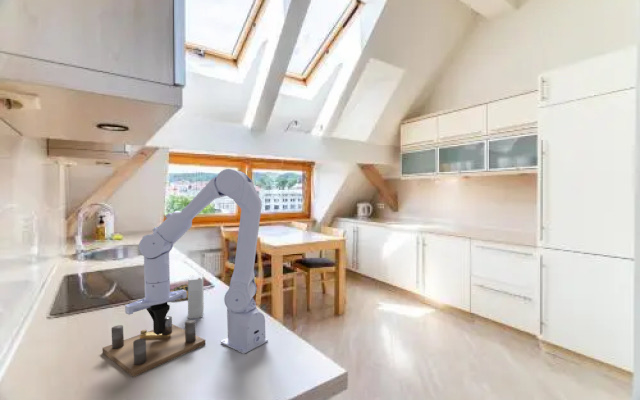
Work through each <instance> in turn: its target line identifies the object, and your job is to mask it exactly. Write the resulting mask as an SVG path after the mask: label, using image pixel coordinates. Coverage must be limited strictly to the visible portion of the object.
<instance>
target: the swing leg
mask: <svg viewBox="0 0 640 400" xmlns="http://www.w3.org/2000/svg"><path fill="white" fill-rule="evenodd" d="M172 324H173V317H172V316H169V315H168V316H167V315H166V317H165V319H164V322H163V333H162V334H159V335H157V334H155V333H154V332H148V331H147V333H145V334H141V333H140V334H141V335H140V334H139V335H140V339H141V338H144V339H146V338H168V337H169V336H170V335H171V333H172Z"/></svg>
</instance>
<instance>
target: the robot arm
mask: <svg viewBox="0 0 640 400" xmlns="http://www.w3.org/2000/svg"><path fill="white" fill-rule="evenodd" d="M223 197H228V198H230V199H231V200H233V201H234V203H235V204H236V205H237V206H238V207H239V208H240V219H239V224H238V225H239V227H238V233H237V235H238V236H237V243H236V249H235V250H236V251H235V259H234V266H233V268H234V269H233V273H232V275H231V278H230V281H229V282H230V283H229V287H228V290H227V291H226V292H225V295H224V297H223V301H224V305H225V306H226V317H227V322H226V323H227V337H226V338H224V339H222V340H220V344H223V345H224V346H226V347H229V348H231V349H233V350H235V351H237V352H239V353H242V354H246V353H249V352H250V351H252V350H254V349H256V348H258V347H259V346H261V345H263V344H265V343H267V342H268V341H269V339H268V338H266V318H265V315H264V314H263V313H262V312H261V311H259V309H258V307H257V303H256V301H255V299H254V296H255V295H256V293H257V284H256V281H255V276H256V275H255V261H256V255H257V254H256V253H257V247H258V239H259V230H260V229H259V228H260V221H261V214H262V206H263V204H262V203H263V202H262V200H261V197H260V196H259V193H258V191H257V189H256V187H255V185H254V181H253V179H251V178H250V177H249V176H248V174H246V173H245V172H244V171H240V170H235V169H233V168H226V169H223V170H221V171H220V172H218V174H217V176H214V177H213V178H211V179H210V180H209V181H208V182H207V183H206V185H204V187H203V188H202V189H201V190H200V191H199V192H198V193H197V194H196V195H195V197H193V199H192V200H191V201H190V202H189V203H188V204H187V205H186V206H185V207H184V208H183V209H182V210H181V211H179V210H175V211H173V212H169V213H167V214H166V215H165V218H166V219H165V220H164V221H162V222H161V224H159V225H158V226H156V227H154V228H152V234H151V233H149V234H146V235H144V236H142V239H141V240H140V241H139V243H138V251H139V252H140V254H141V255H142V256H143V276H144V277H143V278H144V280H143V281H144V298H141V299H138V300H136V301H133V302H131V303H127V304H125V305H124V308H125V309H124V310H125V311H124V312H125V314H127V315H129V316H130V315H134V313H136V312H139V311H143V310H146V311H147V312H148V314H149V316H150V318H151V319H152V321H153V324H152V325H153V329H152V330H154V333H155V334H157V335H159V334H162V333H163V322H164V319H165V317H166V316H167V315H168V312H169V311H170V309H171V308H170V307H171V306H170V304H168V303H170V302H175V300H178V299H181V298H182V299H184V298H187V291H185V290H179V291H173V292H170V290H171V283H170V282H171V281H170V280H171V279H170V277H171V276H170V274H171V272H170V252H171V251H172V249H173V247H174V244H175V243H176V242H178V241H179V239H181V238H182V237H183V236H184V235H185V234H186V233H187V232H188V231H189V230H190V229H191V228H192V227H193V226H192V225H193V219H194V218H196V216H198V215H199V214H200V213H201V212H203V210H204V209H206V208H207V207H208V206H209V205H210V204H212V202H213V201H214V200H216V199H219V198H223ZM178 301H179V300H178Z"/></svg>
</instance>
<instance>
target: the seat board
mask: <svg viewBox="0 0 640 400" xmlns="http://www.w3.org/2000/svg"><path fill="white" fill-rule="evenodd" d="M147 332H154V329H151V330H149V331H148V330H147V329H143V330H140V334H137V335H134V336H131V337H128V338H126V339H124V338H125V337H124V325H122V324H120V325H119V324H117V325H114V326H112V327H111V344H110V345H107V346H104V347H101V348H102V350H101V351H102V354H103V355H105V356H106V357H107V358H109V359H110V360H111V361H113V362H114V363H115V364H116V365H117V366H119V367H121V369H123V370H124V371H125V372H127V374H129V375H130V376H132V377H133V378H135V377H136V376H139V375H142V373H145V372H148V371H150V370H153V369H154V368H156V367H158V366H161V365H163V364H165V363H167V362H170V361H172V360H174V359H176V358H179V357H181V356H183V355H186V354H188V353H190V352H192V351H194V350H196V349H199V348H201V347H203V346H206V339H205V338H202V337H200V336H198V335H196V334H197V333H196V320H193V319H191V320H186V321H185V322H184V329H183V328H181V327H179V326H177V325H174V324H173V323H172V333H171V335H170V336H169V337H168V338H146V339H144V338H141V339H140V335H141V334H145V333H147Z"/></svg>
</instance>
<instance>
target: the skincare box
mask: <svg viewBox="0 0 640 400" xmlns="http://www.w3.org/2000/svg"><path fill="white" fill-rule="evenodd" d="M187 282H188V283H187V285H188V299H187V319H188V320H189V319H191V320H192V319H199V318H202V317H203V314H204V308H205V305H204V304H205V303H204V302H205V301H204V299H205V298H204V273H198V274H191V275H189V277H188V281H187Z"/></svg>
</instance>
